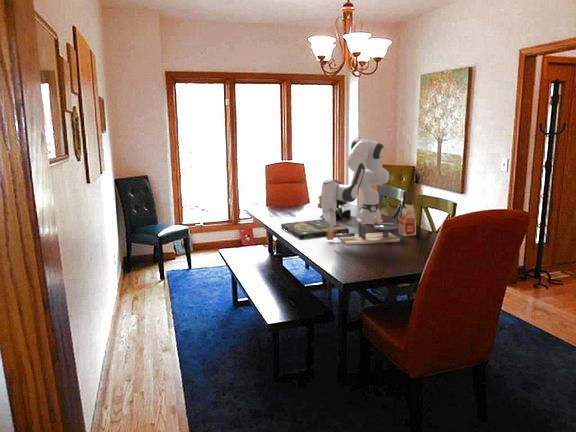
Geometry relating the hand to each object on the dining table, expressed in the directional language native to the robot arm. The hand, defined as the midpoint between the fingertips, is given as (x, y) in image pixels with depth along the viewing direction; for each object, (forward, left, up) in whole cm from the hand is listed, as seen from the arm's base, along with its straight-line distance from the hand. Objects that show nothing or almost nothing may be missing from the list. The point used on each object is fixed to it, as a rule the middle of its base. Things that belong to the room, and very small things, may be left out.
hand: (329, 228), depth 268 cm
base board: (+1, +25, -8) cm, 26 cm away
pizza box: (-31, -3, -9) cm, 33 cm away
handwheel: (+2, +36, -1) cm, 35 cm away
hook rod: (+1, +7, -6) cm, 9 cm away
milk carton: (-7, +54, -8) cm, 55 cm away
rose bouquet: (-67, +20, -8) cm, 70 cm away
